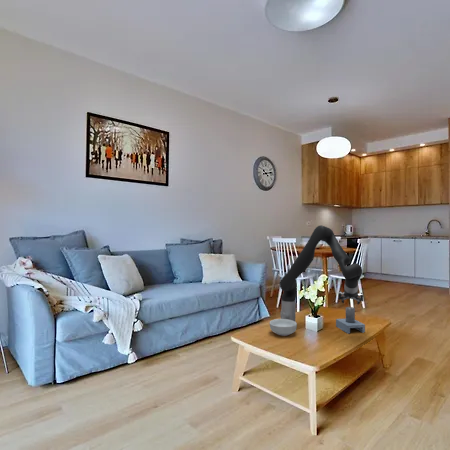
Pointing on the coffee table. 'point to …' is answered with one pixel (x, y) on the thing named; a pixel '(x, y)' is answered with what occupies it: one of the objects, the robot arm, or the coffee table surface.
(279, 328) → the cereal bowl
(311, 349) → the coffee table surface
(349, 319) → the dark grey cylinder
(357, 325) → the bench shelf
